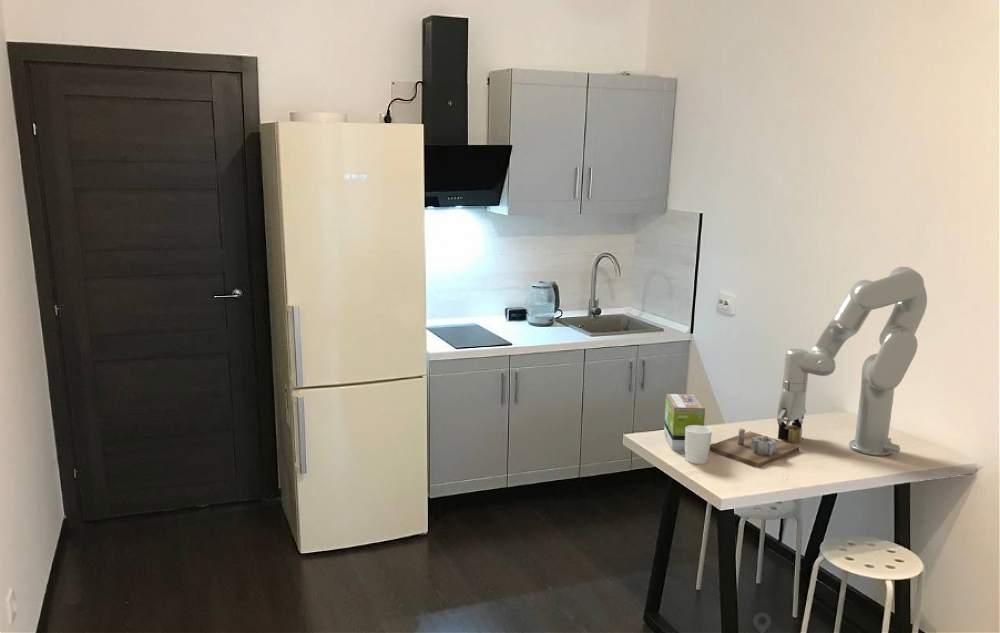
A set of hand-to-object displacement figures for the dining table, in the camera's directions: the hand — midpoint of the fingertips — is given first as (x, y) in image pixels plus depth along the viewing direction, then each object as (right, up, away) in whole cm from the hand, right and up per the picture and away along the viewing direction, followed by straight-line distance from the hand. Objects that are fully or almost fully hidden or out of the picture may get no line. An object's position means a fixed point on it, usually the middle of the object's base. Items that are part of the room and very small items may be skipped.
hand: (789, 436), depth 253 cm
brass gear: (0, -1, 0) cm, 1 cm away
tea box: (-38, -1, -6) cm, 38 cm away
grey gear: (-15, -2, -17) cm, 22 cm away
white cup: (-37, -4, -21) cm, 43 cm away
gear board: (-16, -3, -12) cm, 20 cm away
